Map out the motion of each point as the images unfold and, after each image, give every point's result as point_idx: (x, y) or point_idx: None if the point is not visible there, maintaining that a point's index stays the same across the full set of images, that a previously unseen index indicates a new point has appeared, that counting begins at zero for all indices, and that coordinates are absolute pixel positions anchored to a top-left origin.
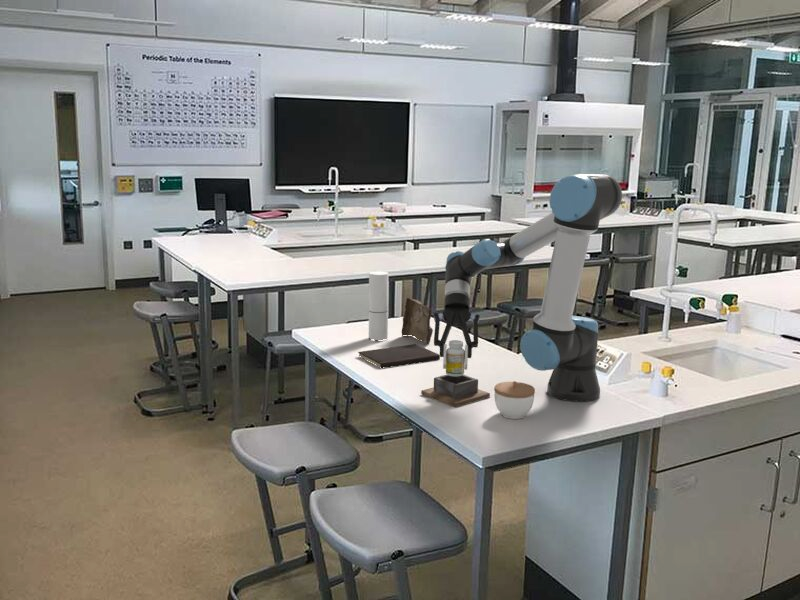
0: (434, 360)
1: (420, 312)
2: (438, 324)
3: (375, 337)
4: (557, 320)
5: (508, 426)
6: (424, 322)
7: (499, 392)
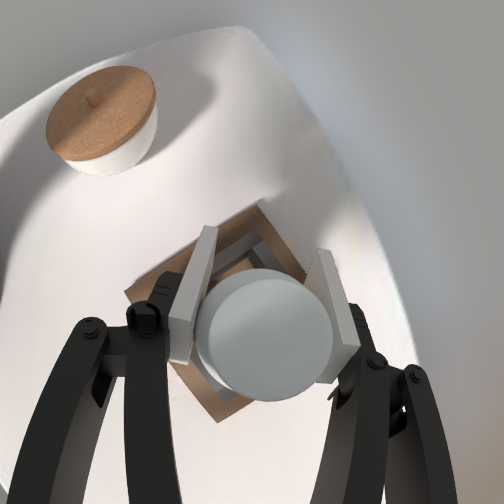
0: None
1: None
2: (437, 502)
3: None
4: None
5: (160, 93)
6: None
7: (152, 81)
